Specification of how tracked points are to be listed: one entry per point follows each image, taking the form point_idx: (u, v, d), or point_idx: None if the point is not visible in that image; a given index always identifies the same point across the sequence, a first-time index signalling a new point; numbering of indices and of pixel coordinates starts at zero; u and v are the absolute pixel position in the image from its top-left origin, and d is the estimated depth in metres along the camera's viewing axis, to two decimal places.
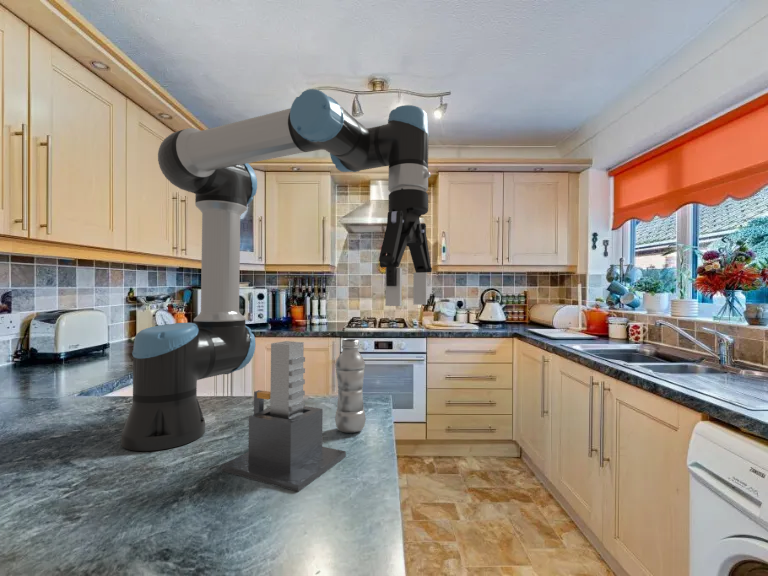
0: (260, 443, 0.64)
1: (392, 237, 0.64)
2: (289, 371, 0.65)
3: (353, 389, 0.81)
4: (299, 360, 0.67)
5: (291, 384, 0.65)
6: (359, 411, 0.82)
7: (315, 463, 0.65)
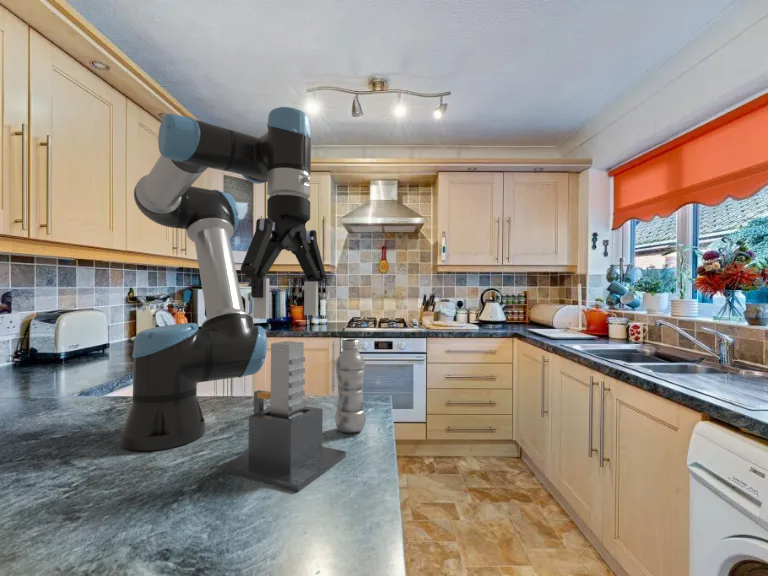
0: (260, 443, 0.64)
1: (256, 246, 0.60)
2: (289, 371, 0.65)
3: (353, 389, 0.82)
4: (299, 360, 0.67)
5: (291, 384, 0.65)
6: (359, 411, 0.82)
7: (315, 463, 0.65)
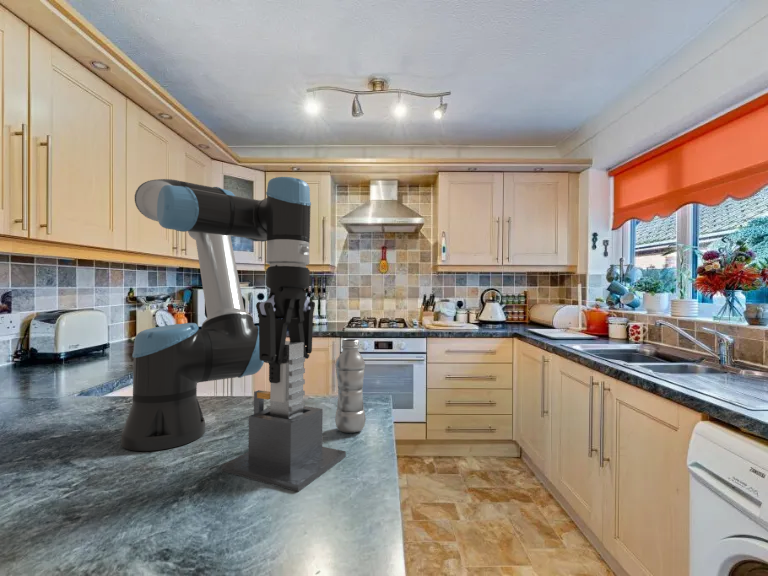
0: (260, 443, 0.64)
1: (266, 335, 0.62)
2: (289, 371, 0.65)
3: (353, 389, 0.81)
4: (299, 360, 0.67)
5: (291, 384, 0.65)
6: (359, 411, 0.82)
7: (315, 463, 0.65)
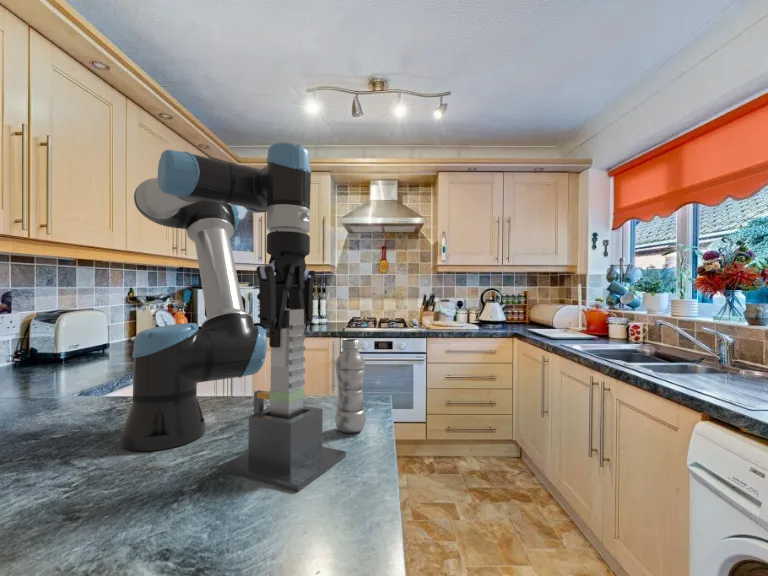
0: (260, 443, 0.64)
1: (267, 298, 0.63)
2: (289, 336, 0.65)
3: (353, 389, 0.81)
4: (299, 326, 0.67)
5: (291, 349, 0.65)
6: (359, 411, 0.82)
7: (315, 463, 0.65)
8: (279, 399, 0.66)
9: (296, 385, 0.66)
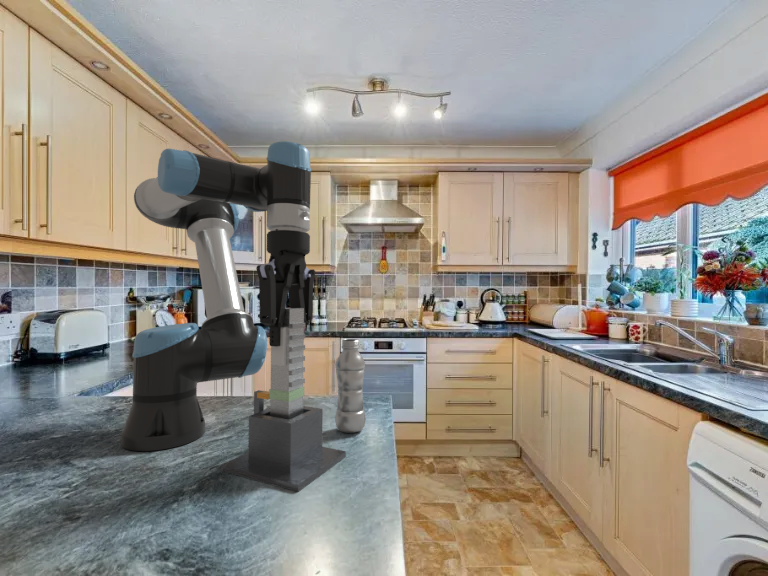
0: (260, 443, 0.64)
1: (267, 297, 0.63)
2: (289, 335, 0.65)
3: (353, 389, 0.81)
4: (299, 325, 0.67)
5: (291, 348, 0.65)
6: (359, 411, 0.82)
7: (315, 463, 0.65)
8: (279, 398, 0.66)
9: (296, 384, 0.66)
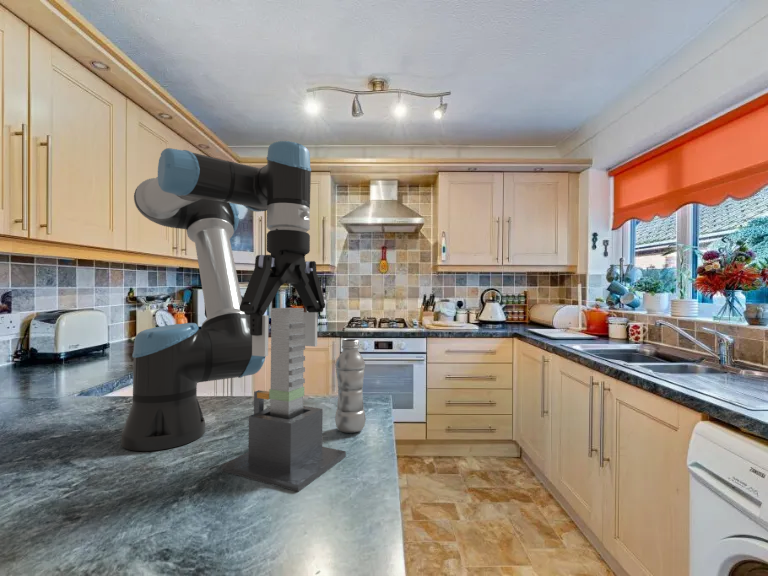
0: (260, 443, 0.64)
1: (256, 284, 0.60)
2: (289, 335, 0.65)
3: (353, 389, 0.82)
4: (299, 325, 0.67)
5: (291, 348, 0.65)
6: (359, 411, 0.82)
7: (315, 463, 0.65)
8: (279, 398, 0.66)
9: (296, 384, 0.66)
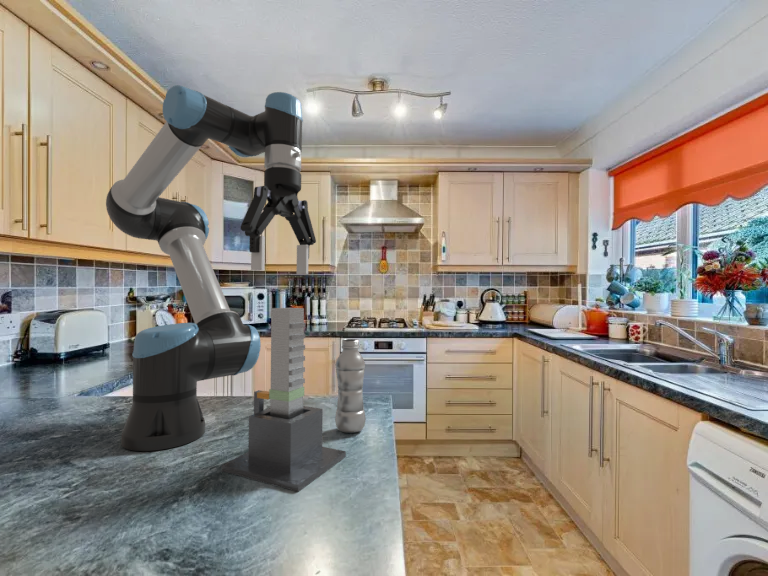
0: (260, 443, 0.64)
1: (254, 208, 0.72)
2: (289, 335, 0.65)
3: (353, 389, 0.81)
4: (299, 325, 0.67)
5: (291, 348, 0.65)
6: (359, 411, 0.82)
7: (315, 463, 0.65)
8: (279, 398, 0.66)
9: (296, 384, 0.66)
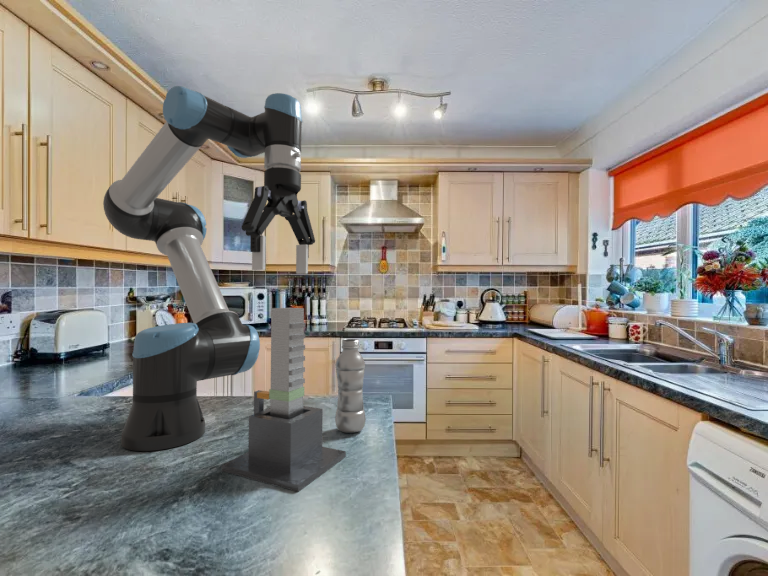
0: (260, 443, 0.64)
1: (255, 208, 0.73)
2: (289, 335, 0.65)
3: (353, 389, 0.82)
4: (299, 325, 0.67)
5: (291, 348, 0.65)
6: (359, 411, 0.82)
7: (315, 463, 0.65)
8: (279, 398, 0.66)
9: (296, 384, 0.66)
